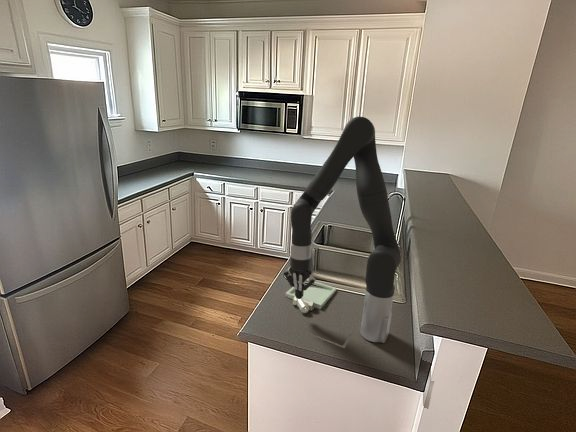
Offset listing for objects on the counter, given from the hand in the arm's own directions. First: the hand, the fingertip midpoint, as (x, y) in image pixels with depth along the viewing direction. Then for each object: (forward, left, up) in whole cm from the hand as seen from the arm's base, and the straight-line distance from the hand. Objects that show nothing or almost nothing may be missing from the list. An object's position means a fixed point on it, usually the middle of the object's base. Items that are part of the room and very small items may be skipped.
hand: (299, 297), depth 125 cm
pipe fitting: (+1, -1, -6) cm, 6 cm away
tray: (+2, -16, -8) cm, 18 cm away
